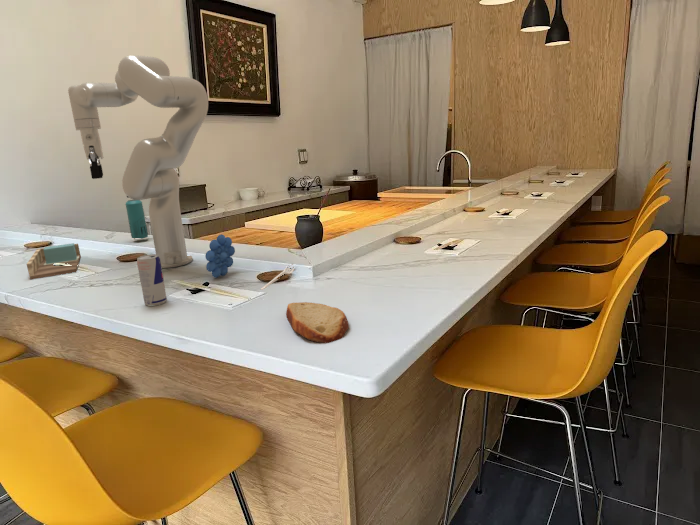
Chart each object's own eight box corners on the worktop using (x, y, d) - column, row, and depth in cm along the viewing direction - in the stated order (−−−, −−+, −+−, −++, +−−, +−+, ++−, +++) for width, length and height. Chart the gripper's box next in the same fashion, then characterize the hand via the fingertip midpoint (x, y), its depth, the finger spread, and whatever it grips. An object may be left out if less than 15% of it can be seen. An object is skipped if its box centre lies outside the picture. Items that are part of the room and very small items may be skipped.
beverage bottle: (143, 242, 205) (134, 192, 200) (128, 242, 206) (119, 193, 201) (152, 238, 211) (144, 189, 206) (137, 239, 213) (129, 190, 207)
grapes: (225, 269, 157) (220, 230, 154) (242, 270, 154) (237, 231, 151) (197, 280, 148) (191, 239, 144) (216, 282, 144) (210, 240, 141)
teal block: (46, 264, 175) (43, 249, 174) (48, 261, 179) (44, 247, 178) (76, 259, 178) (73, 245, 177) (77, 257, 182) (74, 243, 181)
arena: (76, 272, 166) (73, 257, 165) (30, 279, 161) (26, 264, 160) (80, 256, 188) (78, 243, 186) (40, 262, 183) (36, 249, 181)
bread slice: (293, 308, 121) (292, 293, 120) (366, 313, 115) (365, 297, 114) (253, 339, 105) (251, 321, 104) (335, 347, 98) (334, 328, 97)
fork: (256, 292, 136) (255, 285, 135) (287, 269, 154) (287, 263, 153) (267, 292, 135) (266, 285, 134) (297, 269, 153) (297, 263, 152)
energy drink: (171, 300, 132) (164, 254, 129) (156, 307, 127) (147, 260, 124) (155, 298, 134) (148, 253, 131) (140, 305, 129) (131, 259, 126)
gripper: (99, 123, 164) (109, 178, 168) (100, 124, 179) (110, 174, 184) (73, 125, 161) (84, 180, 165) (76, 126, 176) (86, 176, 181)
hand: (97, 177), depth 174 cm, fingers open, 9 cm apart
